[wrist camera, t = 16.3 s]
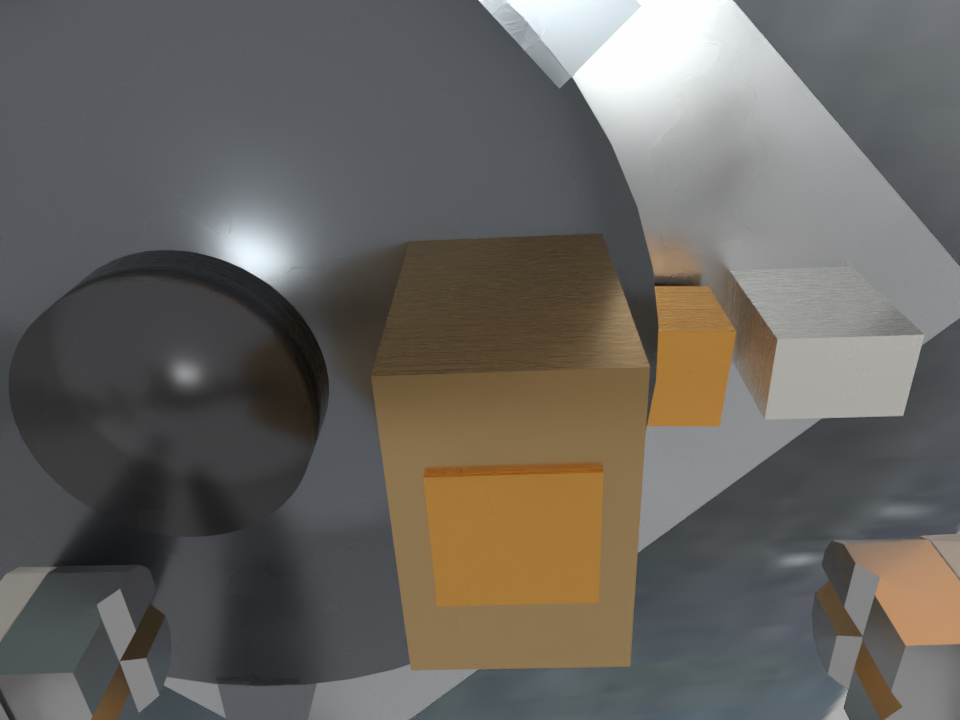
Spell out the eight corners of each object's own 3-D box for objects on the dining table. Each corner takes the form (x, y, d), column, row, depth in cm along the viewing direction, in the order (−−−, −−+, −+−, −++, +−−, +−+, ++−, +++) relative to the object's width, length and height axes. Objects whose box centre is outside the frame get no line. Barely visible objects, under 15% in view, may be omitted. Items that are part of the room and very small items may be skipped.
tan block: (594, 475, 15) (631, 672, 11) (432, 480, 15) (410, 676, 11) (602, 232, 13) (652, 370, 9) (409, 240, 13) (369, 380, 9)
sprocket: (652, 659, 20) (725, 1001, 14) (-73, 650, 21) (-335, 979, 14) (794, -280, 11) (1239, -600, 4) (-541, -267, 11) (-1967, -546, 5)
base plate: (338, 745, 25) (312, 880, 21) (-424, 325, 18) (-653, 421, 14) (960, 278, 16) (1086, 371, 13) (3, -837, 10) (-282, -1286, 6)
